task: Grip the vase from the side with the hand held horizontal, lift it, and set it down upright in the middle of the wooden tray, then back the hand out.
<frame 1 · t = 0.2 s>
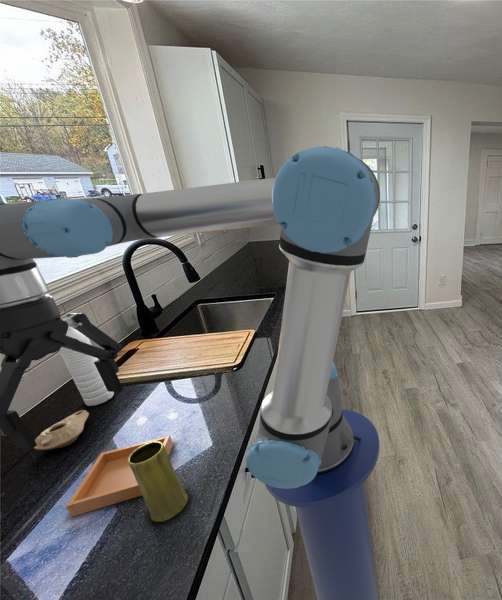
hand: (76, 415, 54), 23 cm above the counter, tool pointing down, fingers open, 13 cm apart
wooden tray: (128, 476, 69), on the counter
pottery oil lamp: (72, 438, 81), on the counter
water bottle: (96, 400, 95), on the counter
vase: (170, 507, 62), on the counter
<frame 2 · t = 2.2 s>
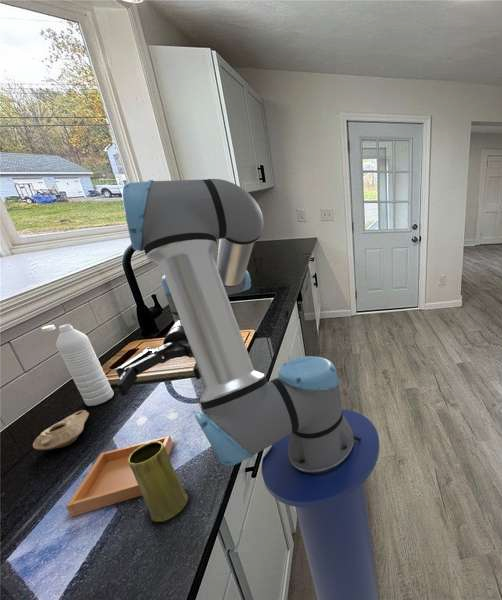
hand: (160, 382, 67), 20 cm above the counter, tool horizontal, fingers open, 13 cm apart
nothing on the counter moved.
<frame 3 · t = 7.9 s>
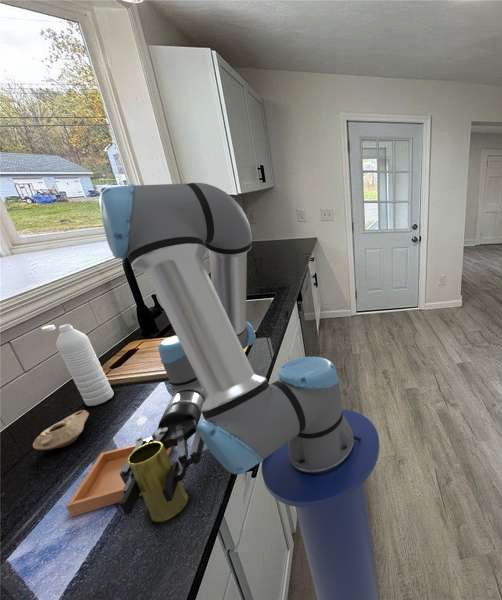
hand: (146, 502, 54), 8 cm above the counter, tool horizontal, fingers closed on vase, 5 cm apart
vase: (170, 507, 62), on the counter, touching gripper
everything else where it was.
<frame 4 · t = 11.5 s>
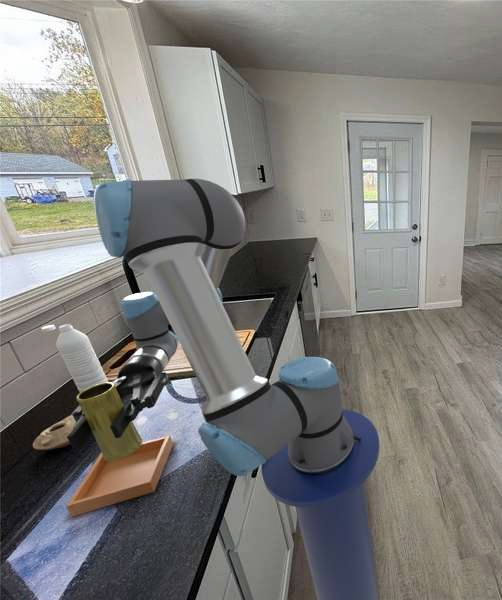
hand: (94, 436, 55), 18 cm above the counter, tool horizontal, fingers closed on vase, 5 cm apart
vase: (124, 449, 63), point 10 cm above the counter, touching gripper
everything else where it was.
when the fingers open (9 cm above the counter, at t = 15.1 s): vase stays where it is, resting on wooden tray.
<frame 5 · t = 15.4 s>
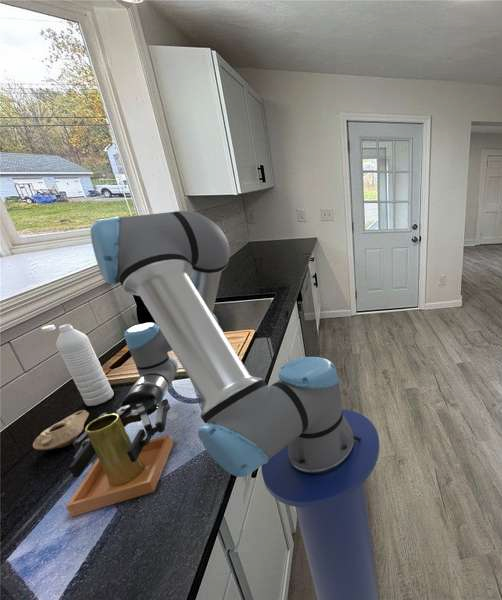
hand: (103, 464, 62), 8 cm above the counter, tool horizontal, fingers open, 8 cm apart
vase: (127, 474, 69), resting on wooden tray
everything else where it was.
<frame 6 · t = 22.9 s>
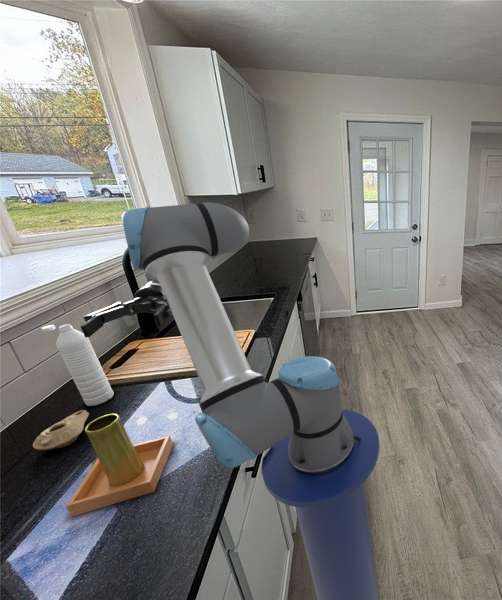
hand: (122, 325, 71), 30 cm above the counter, tool horizontal, fingers open, 13 cm apart
nothing on the counter moved.
at the end: vase inside the target area in the wooden tray (0.1 cm from its centre), point 0.4 cm above the wooden tray's base; vase tilted 0°; the gripper is holding nothing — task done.
